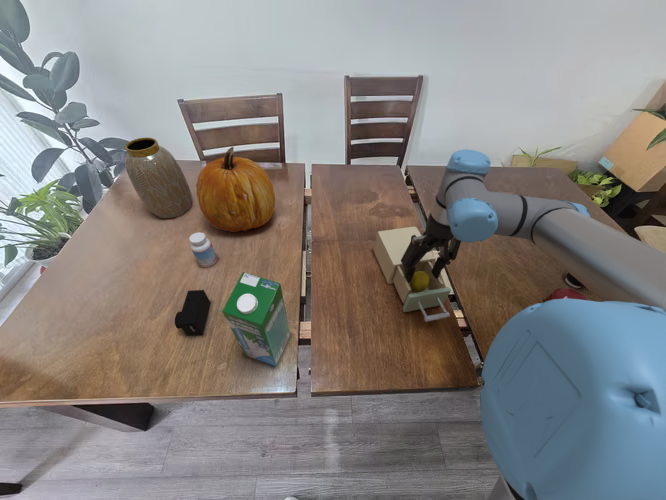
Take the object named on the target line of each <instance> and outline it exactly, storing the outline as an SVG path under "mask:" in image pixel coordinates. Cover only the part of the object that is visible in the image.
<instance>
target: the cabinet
mask: <svg viewBox="0 0 666 500" xmlns="http://www.w3.org/2000/svg"><path fill="white" fill-rule="evenodd" d="M412 235H416V237H418V236H422V233H421V232H420V231H419V229H418V228H417V226H415V225H414V226H409V227H400V228H392V229H385V230H379V231H377V232H376V238H375V243H374V247H373V253H374V255H375V258H376V260H377V262H378V265H379V267H380V269H381V271H382V273H383V276H384V278H385V281H386V283H387V284H388V285H390V284H391V285H392V284H394V283H393V280H392V277H393V274H394V271H395V268H396V266H401V265H403V264H402V262H401V259H402V257H403V255H404V253H405V251H406V250H407V248H408V246H409V244H410V242H411V236H412ZM436 260H437V258H436V256H435V255H434V253H433V252H432V250H431V251H430V252H427V253H426V254H425V255H424V257H423V258H422V259H421V260H420V261H419V262H418V263H420V262H426V261H430V262H431V263H432V265H433V266H434V264H435V262H436Z"/></svg>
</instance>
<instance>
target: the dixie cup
mask: <svg viewBox="0 0 666 500" xmlns="http://www.w3.org/2000/svg"><path fill="white" fill-rule="evenodd" d="M564 280H565V282H566V283H567V285H569V286H570V287H572V288H574V289H580V288H583V287H585V286H584V285H583V284H582V283H581V282H579V281H578V280H577V279H576V278H575V277H574V276H572V275H571V274H570V273H569V272H567V274H566V276H565V279H564Z"/></svg>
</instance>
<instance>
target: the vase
mask: <svg viewBox="0 0 666 500" xmlns="http://www.w3.org/2000/svg"><path fill="white" fill-rule="evenodd" d="M124 150H125V151H126V152H127V153H126V154H125V158H124V167H125V170H126V173H127V175H128V178H129V180H130V183H131V184H132V187H133V189H134V191H135V192H136V194H137V196H138V198H139V199H140V201H141V202H142V204H143V205H144V207H145V208H146V209H147V211H149V212H150V213H152V214H153V215H154V216H157V217H158V218H162V219H171V218H176V217H180V216H182V215H183V214H185V213H186V212H188V210H190V208H191V204H192V199H193V196H192V192H191V189H190V186H189V184H188V183H189V182H188V181H187V179H186V177H185V175H184V173H183V170H182V168H181V167H180V165H179V163H178V162H177V160H176V158H175V156H174V155H173V154H172V153H171V151H169V150H168V149H167V148H165V147H163V146H162V145H160V144H159V143H158V140H157V139H155V138H153V137H139V138H138V137H137V138H135V139H132V140H130V141H128V142H127V143H125V145H124Z"/></svg>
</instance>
